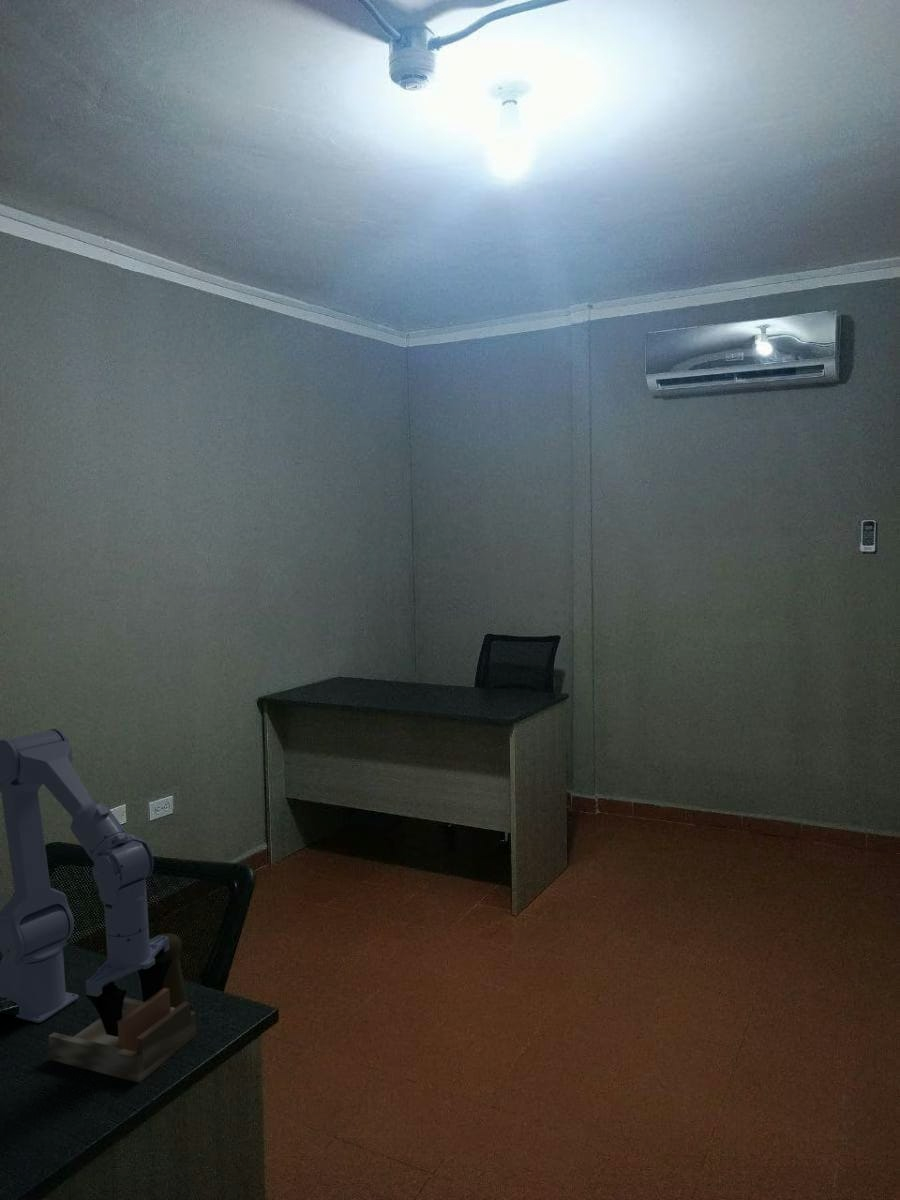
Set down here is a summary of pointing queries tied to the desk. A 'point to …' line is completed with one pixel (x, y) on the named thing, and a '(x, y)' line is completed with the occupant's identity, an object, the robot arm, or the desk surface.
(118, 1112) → the desk surface
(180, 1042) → the wooden tray
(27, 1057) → the desk surface
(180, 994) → the brown tapered rounded cylinder
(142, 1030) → the lane pusher
